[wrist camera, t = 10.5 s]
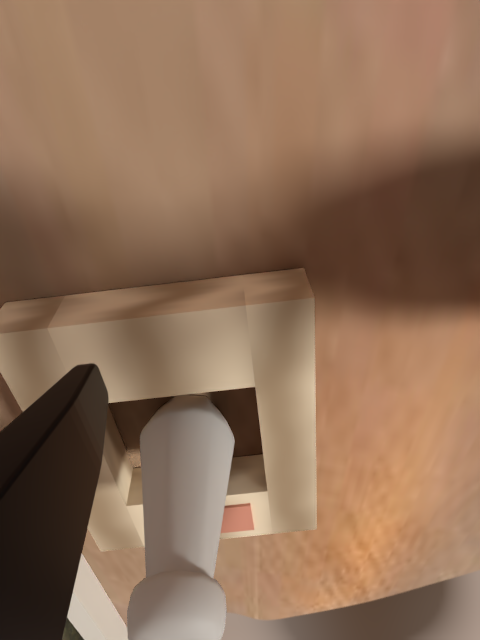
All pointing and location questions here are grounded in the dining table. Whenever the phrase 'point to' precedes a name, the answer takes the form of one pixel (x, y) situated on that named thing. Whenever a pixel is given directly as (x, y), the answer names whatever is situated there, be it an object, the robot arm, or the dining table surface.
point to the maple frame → (185, 383)
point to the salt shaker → (182, 522)
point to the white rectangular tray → (94, 608)
